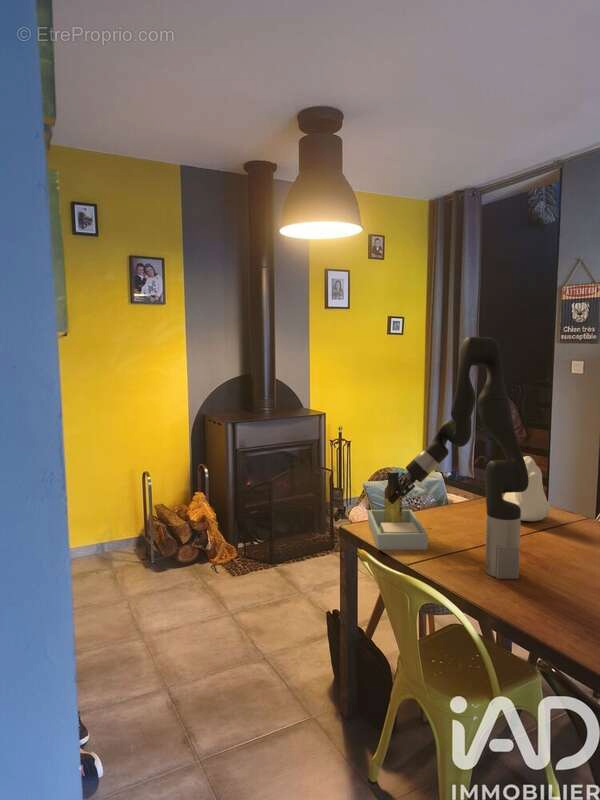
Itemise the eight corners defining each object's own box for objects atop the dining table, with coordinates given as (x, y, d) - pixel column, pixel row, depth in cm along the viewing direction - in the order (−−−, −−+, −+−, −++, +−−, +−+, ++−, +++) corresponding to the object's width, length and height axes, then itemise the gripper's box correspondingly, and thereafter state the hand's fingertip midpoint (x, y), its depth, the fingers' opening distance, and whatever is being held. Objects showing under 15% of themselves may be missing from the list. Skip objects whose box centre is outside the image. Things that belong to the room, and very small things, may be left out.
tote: (427, 552, 172) (427, 534, 172) (377, 552, 172) (377, 534, 172) (411, 525, 198) (411, 509, 197) (368, 525, 198) (368, 510, 198)
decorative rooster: (553, 528, 194) (556, 460, 191) (507, 525, 197) (509, 459, 195) (539, 507, 218) (541, 447, 216) (498, 505, 222) (500, 446, 219)
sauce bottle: (403, 529, 187) (403, 473, 185) (385, 529, 188) (385, 473, 186) (400, 523, 194) (400, 469, 192) (383, 523, 194) (383, 469, 192)
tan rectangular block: (418, 546, 175) (418, 531, 174) (384, 546, 175) (384, 531, 174) (412, 536, 183) (412, 522, 183) (380, 536, 184) (380, 522, 183)
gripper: (410, 454, 196) (378, 486, 197) (419, 463, 181) (384, 497, 183) (425, 468, 196) (392, 500, 197) (434, 478, 182) (399, 512, 183)
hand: (388, 499), depth 190 cm, fingers closed on sauce bottle, 6 cm apart
